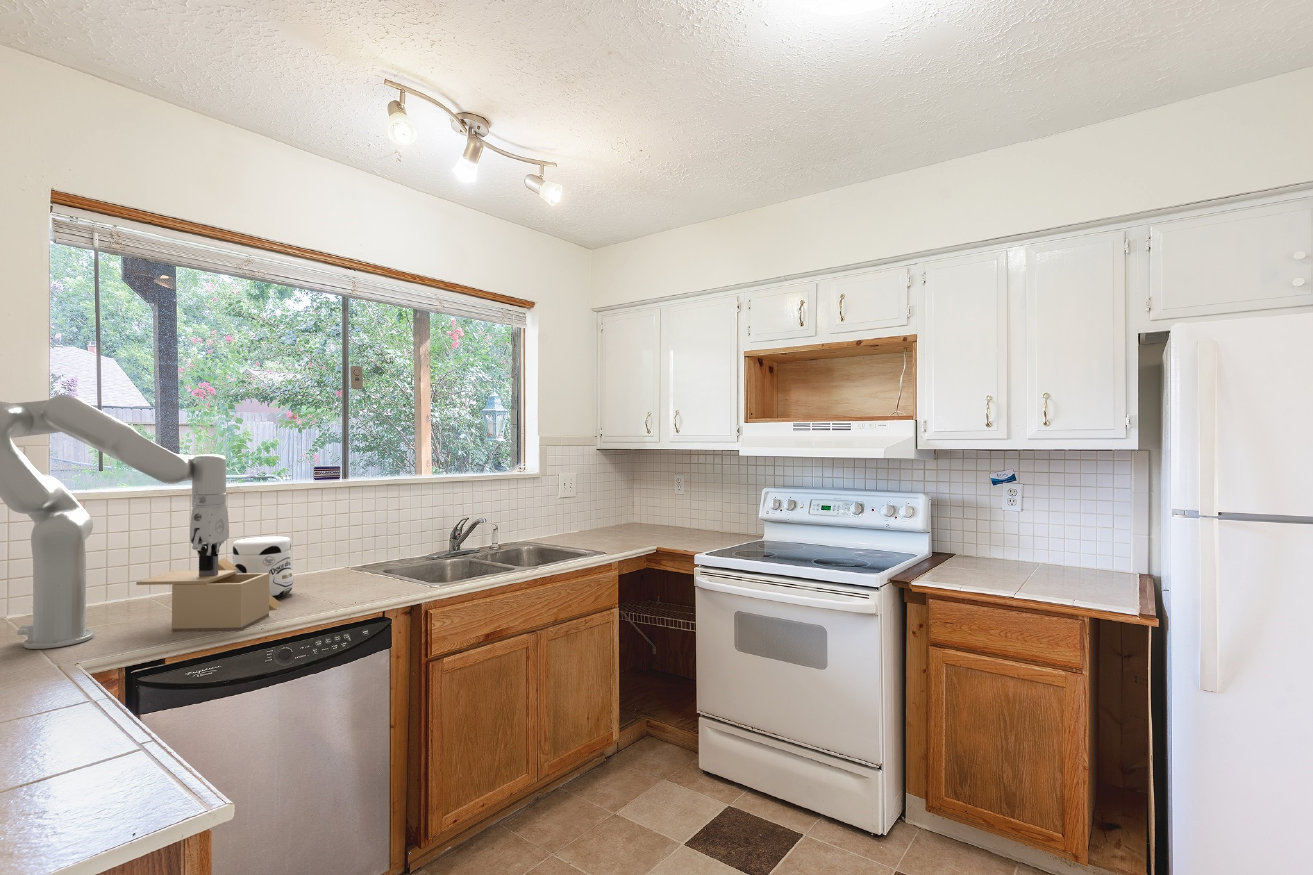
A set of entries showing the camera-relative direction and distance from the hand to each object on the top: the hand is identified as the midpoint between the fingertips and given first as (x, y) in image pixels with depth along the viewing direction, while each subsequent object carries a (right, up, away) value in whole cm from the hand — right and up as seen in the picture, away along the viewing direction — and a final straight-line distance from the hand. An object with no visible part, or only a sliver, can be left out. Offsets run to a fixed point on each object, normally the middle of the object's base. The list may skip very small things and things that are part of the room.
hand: (208, 569), depth 175 cm
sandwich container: (+1, -15, +16) cm, 22 cm away
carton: (+4, -15, 0) cm, 15 cm away
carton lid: (-5, -3, 0) cm, 6 cm away
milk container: (-4, -15, +30) cm, 34 cm away
